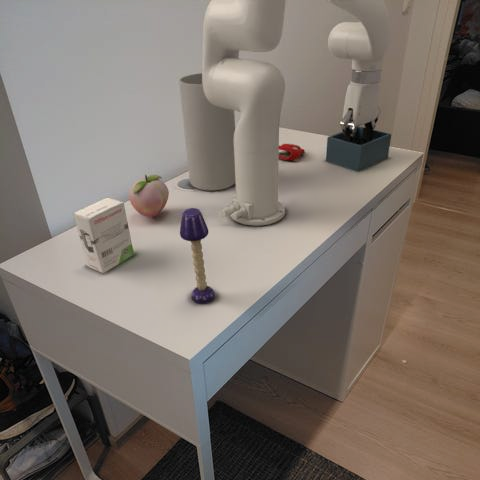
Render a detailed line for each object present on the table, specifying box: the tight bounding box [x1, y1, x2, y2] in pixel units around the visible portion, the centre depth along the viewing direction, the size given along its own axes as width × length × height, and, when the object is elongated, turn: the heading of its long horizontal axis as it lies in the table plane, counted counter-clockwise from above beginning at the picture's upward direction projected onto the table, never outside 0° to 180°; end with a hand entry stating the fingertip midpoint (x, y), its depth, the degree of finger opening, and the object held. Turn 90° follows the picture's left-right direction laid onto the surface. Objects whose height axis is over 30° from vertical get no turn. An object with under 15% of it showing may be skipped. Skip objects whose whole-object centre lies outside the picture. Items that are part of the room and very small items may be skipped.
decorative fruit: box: [128, 174, 170, 218], centre depth 110 cm, size 9×8×10 cm
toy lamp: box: [179, 207, 216, 305], centre depth 81 cm, size 5×5×17 cm
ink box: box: [72, 197, 135, 274], centre depth 94 cm, size 9×5×12 cm, turn 143°
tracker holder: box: [279, 143, 305, 162], centre depth 139 cm, size 12×4×10 cm
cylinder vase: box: [178, 72, 236, 192], centre depth 120 cm, size 12×12×25 cm
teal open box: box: [325, 125, 392, 172], centre depth 134 cm, size 13×11×7 cm
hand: (357, 146), depth 134 cm, fingers closed on creature, 7 cm apart
